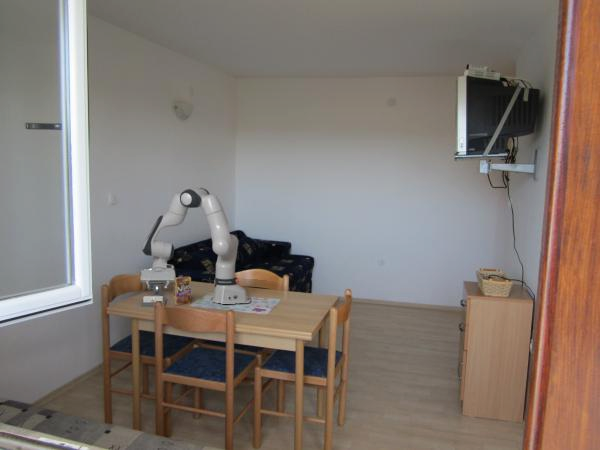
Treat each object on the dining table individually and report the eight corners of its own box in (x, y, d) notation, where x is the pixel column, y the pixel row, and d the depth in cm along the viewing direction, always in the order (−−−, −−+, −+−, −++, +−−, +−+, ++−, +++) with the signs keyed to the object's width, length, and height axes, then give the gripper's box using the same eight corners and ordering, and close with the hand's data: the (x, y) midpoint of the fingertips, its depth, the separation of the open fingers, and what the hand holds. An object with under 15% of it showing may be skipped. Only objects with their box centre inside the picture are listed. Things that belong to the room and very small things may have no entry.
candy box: (175, 305, 255) (175, 278, 254) (172, 303, 259) (173, 277, 257) (190, 303, 260) (191, 277, 259) (188, 302, 264) (188, 275, 262)
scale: (166, 300, 264) (166, 291, 264) (164, 306, 252) (164, 297, 251) (144, 301, 262) (144, 291, 261) (141, 307, 250) (141, 297, 249)
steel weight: (162, 296, 274) (162, 283, 273) (161, 298, 269) (161, 285, 268) (153, 296, 273) (153, 283, 272) (152, 298, 268) (152, 285, 267)
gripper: (140, 265, 275) (138, 285, 266) (176, 265, 278) (174, 285, 270) (142, 271, 279) (139, 291, 271) (176, 271, 283) (175, 291, 275)
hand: (157, 288), depth 270 cm, fingers open, 8 cm apart
